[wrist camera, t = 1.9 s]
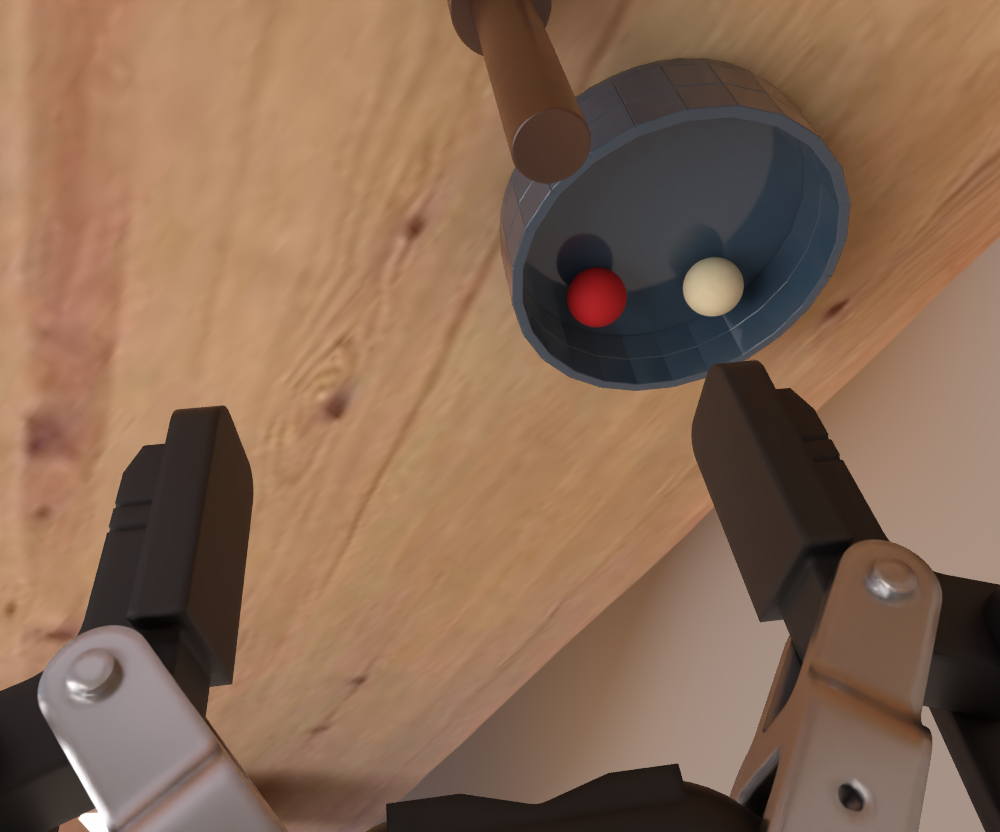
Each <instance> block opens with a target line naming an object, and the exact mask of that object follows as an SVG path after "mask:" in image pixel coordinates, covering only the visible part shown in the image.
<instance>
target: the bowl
mask: <svg viewBox="0 0 1000 832" xmlns="http://www.w3.org/2000/svg"><path fill="white" fill-rule="evenodd" d="M576 100H577V102H578V105H579V107H580V109H581V112H582V114H583V116H584V118H585V121H586V123H587V125H588V127H589V130H590V134H591V147H590V151H589V154H588V156H587V159H586V161H585V162H584V164H583V165H582V166H581V168H580V169H579V170H578V171H577V172H576V173H574V174H573V175H572V176H570V177H569V178H567V179H565V180H562V181H560V182H556V183H547V184H545V183H538V182H534V181H532V180H530V179H528V178H526V177H525V176H523V175H522V174H521V173H520V172H519V171H518V169H517V168H515V170H514V172H513V173H512V176H511V178H510V181H509V184H508V187H507V189H506V192H505V196H504V200H503V205H502V210H501V218H500V240H501V255H502V260H503V264H504V269H505V273H506V278H507V282H508V287H509V291H510V296H511V300H512V305H513V308H514V310H515V313H516V316H517V319H518V322H519V325H520V328H521V331H522V334H523V335H524V337H525V338H526V339H527V340H528V342H529V343H530V344H531V346H532V347H533V348H534V349H535V351H536V352H537V353H538V354H539V356H540V357H541V358H542V359H543V360H544V361H546V362H547V363H549V364H550V365H552V366H553V367H555V368H556V369H558V370H559V371H561V372H562V373H564V374H565V375H567V376H568V377H570V378H573V379H576V380H579V381H582V382H585V383H589V384H592V385H595V386H598V387H602V388H611V389H622V390H632V391H639V390H649V389H659V388H669V387H675V386H679V385H682V384H686V383H689V382H693V381H696V380H700V379H704V378H706V376H707V373H708V370H709V368H710V367H711V365H713V364H719V363H731V362H742V361H745V360H746V359H748V358H750V357H751V356H753V355H754V354H755V353H757V352H758V351H760V350H761V349H763V348H764V347H766V346H767V345H769V344H770V343H772V342H773V341H775V340H776V339H777V338H779V336H781V335H782V334H783V333H785V332H786V331H787V330H788V329H789V328H790V327H791V326H792V325H793V324H794V323H795V322H796V321H797V320H798V319H799V318H800V317H801V316H802V315H803V314H804V313H805V312H806V311H807V310H808V309H809V308H810V307H811V305H812V304H813V302H814V301H815V299H816V298H817V297H818V295H819V294H820V292H821V291H822V289H823V288H824V287H825V285H826V284H827V282H828V281H829V279H830V278H831V276H832V275H833V272H834V270H835V267H836V265H837V262H838V260H839V257H840V255H841V252H842V250H843V247H844V245H845V242H846V239H847V232H848V222H849V212H850V198H849V194H848V190H847V186H846V182H845V177H844V173H843V169H842V167H841V165H840V163H839V162H838V160H837V159H836V158H835V156H834V155H833V154H832V152H831V151H830V150H829V148H828V147H827V145H826V144H825V143H824V141H823V140H822V139H821V137H820V136H819V135H818V134H817V133H816V131H815V130H814V129H813V128H812V127H811V126H810V124H809V123H808V122H807V121H806V120H805V119H804V117H803V116H802V115H801V114H800V113H799V112H798V110H797V109H796V108H795V107H794V106H793V105H792V104H791V102H790V101H789V100H788V99H787V98H786V97H785V95H783V93H781V92H779V91H778V90H777V89H776V88H775V87H773V86H772V85H771V84H770V83H768V82H767V81H766V80H764V79H763V78H762V77H760V76H758V75H756V74H754V73H752V72H750V71H748V70H746V69H744V68H741V67H738V66H735V65H731V64H728V63H725V62H719V61H713V60H706V59H675V60H667V61H660V62H654V63H650V64H647V65H643V66H639V67H635V68H632V69H629V70H627V71H624V72H622V73H619V74H617V75H614V76H612V77H610V78H608V79H606V80H604V81H602V82H600V83H599V84H597V85H595V86H593V87H591V88H589V89H588V90H586V91H585V92H583V93H582V94H581V95H579V96H578V97H576ZM710 257H720V258H724V259H727V260H729V261H730V262H732V263H733V264H734V265H736V266H737V268H738V269H739V270H740V272H741V274H742V277H743V281H744V289H743V294H742V297H741V299H740V301H739V302H738V304H737V305H736V306H735V307H734V308H733V309H732V310H730V311H729V312H727V313H725V314H723V315H720V316H704V315H701V314H699V313H697V312H695V311H694V310H693V309H692V308H691V307H690V306H689V305H688V304H687V302H686V300H685V297H684V294H683V282H684V279H685V276H686V274H687V272H688V271H689V269H690V268H691V267H692V266H693V265H694V264H696V263H697V262H699V261H700V260H703V259H705V258H710ZM593 267H601V268H606V269H609V270H611V271H613V272H614V273H616V274H617V275H618V276H619V277H620V279H621V280H622V281H623V283H624V285H625V289H626V294H627V300H626V305H625V308H624V310H623V312H622V314H621V315H620V316H619V317H618V318H617V319H616V320H615V321H614V322H612V323H611V324H609V325H606V326H603V327H590V326H586V325H584V324H582V323H580V322H579V321H577V320H576V319H575V318H574V316H573V315H572V314H571V312H570V310H569V307H568V303H567V292H568V288H569V286H570V284H571V282H572V280H573V279H574V278H575V277H576V276H577V275H578V274H579V273H580V272H582V271H584V270H586V269H589V268H593Z"/></svg>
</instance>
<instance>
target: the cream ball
mask: <svg viewBox="0 0 1000 832" xmlns="http://www.w3.org/2000/svg"><path fill="white" fill-rule="evenodd" d="M743 289H744V281H743V277H742V274H741V272H740V270H739V269H738V268H737V266H736V265H734V264H733V263H732V262H730V261H729V260H727V259H724V258H720V257H710V258H705V259H703V260H700V261H699V262H697V263H696V264H694V265H693V266H692V267H691V268H690V269H689V271H688V272H687V274H686V276H685V279H684V282H683V294H684V297H685V300H686V302H687V304H688V305H689V306H690V307H691V308H692V309H693V310H694V311H695V312H697V313H699V314H701V315H704V316H720V315H723V314H725V313H727V312H729V311H730V310H732V309H733V308H734V307H735V306H736V305H737V304H738V302H739V301H740V299H741V297H742V294H743Z"/></svg>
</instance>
